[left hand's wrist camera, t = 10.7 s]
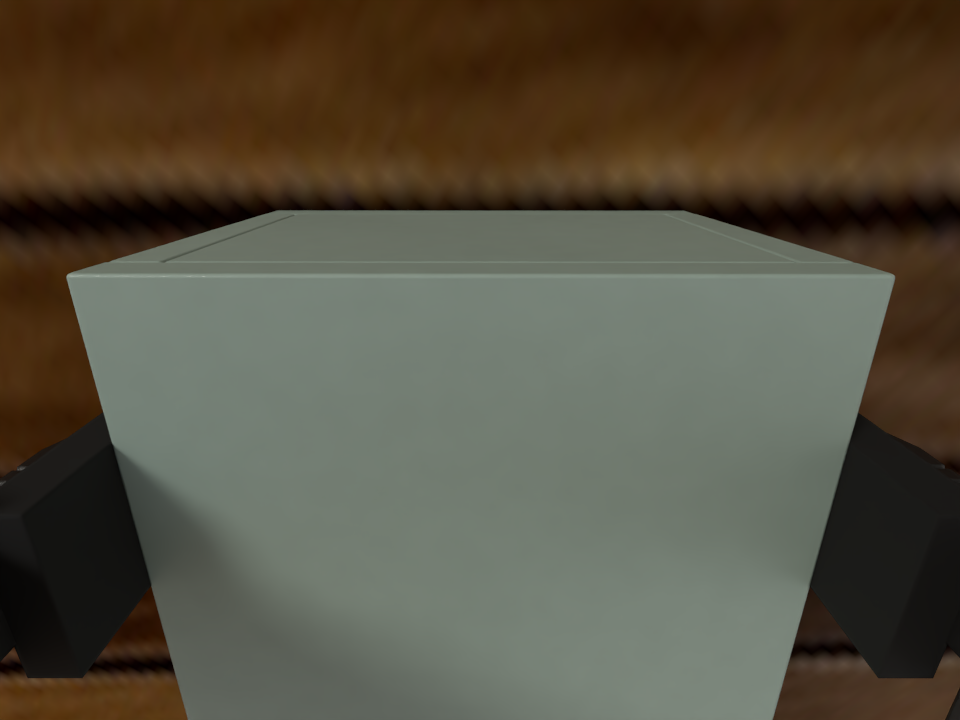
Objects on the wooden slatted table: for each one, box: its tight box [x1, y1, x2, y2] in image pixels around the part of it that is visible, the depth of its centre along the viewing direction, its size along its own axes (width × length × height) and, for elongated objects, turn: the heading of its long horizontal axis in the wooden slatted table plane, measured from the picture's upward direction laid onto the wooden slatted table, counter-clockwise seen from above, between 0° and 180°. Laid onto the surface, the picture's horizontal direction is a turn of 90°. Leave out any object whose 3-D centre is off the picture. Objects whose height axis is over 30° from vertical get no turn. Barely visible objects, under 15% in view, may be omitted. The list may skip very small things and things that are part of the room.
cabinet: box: [67, 211, 895, 720], centre depth 14 cm, size 18×11×8 cm, turn 0°
